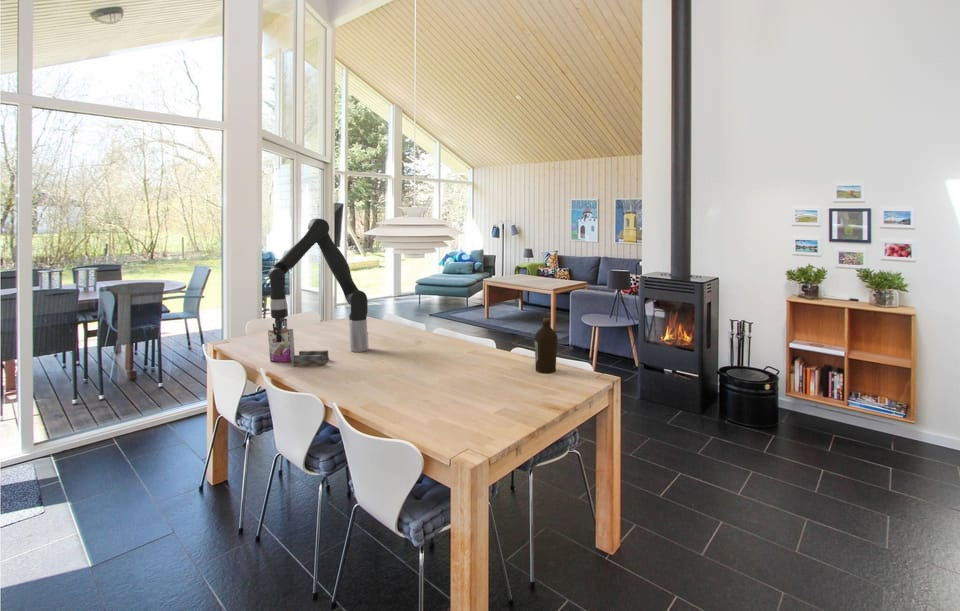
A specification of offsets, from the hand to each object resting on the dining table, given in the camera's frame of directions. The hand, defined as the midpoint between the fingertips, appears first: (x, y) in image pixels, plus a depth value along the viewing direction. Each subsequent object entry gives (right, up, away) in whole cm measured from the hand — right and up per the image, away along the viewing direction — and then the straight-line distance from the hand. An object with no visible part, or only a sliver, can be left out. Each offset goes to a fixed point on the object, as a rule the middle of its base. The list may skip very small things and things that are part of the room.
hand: (281, 340), depth 252 cm
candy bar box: (0, -11, +2) cm, 11 cm away
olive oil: (+131, -13, -17) cm, 133 cm away
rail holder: (+16, -11, -2) cm, 20 cm away
